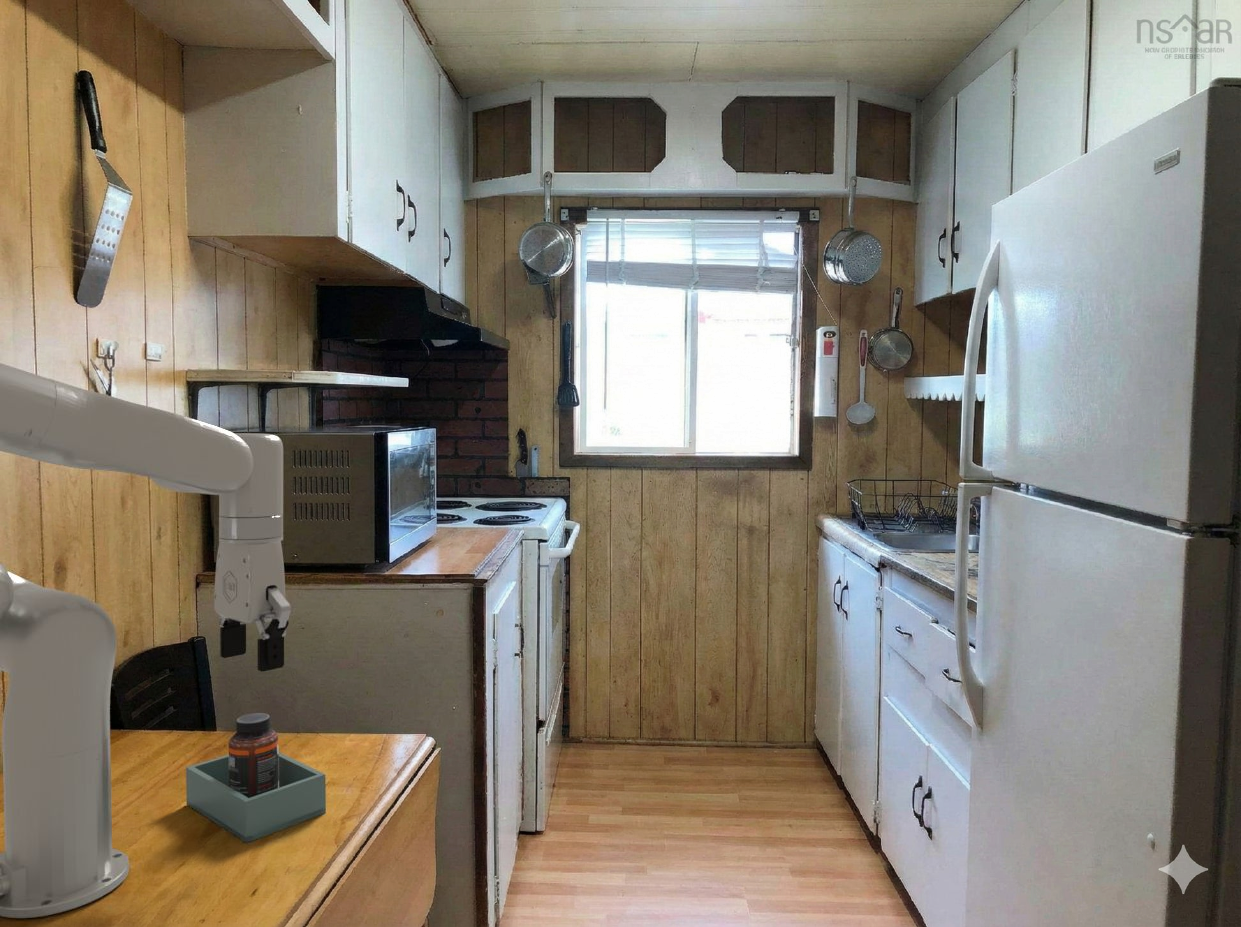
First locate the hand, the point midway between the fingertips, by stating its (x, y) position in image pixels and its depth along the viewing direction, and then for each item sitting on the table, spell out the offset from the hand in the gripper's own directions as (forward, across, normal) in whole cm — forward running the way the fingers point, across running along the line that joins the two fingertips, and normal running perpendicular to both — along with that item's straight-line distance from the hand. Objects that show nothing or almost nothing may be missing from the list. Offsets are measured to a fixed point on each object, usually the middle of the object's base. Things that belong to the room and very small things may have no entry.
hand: (251, 662), depth 107 cm
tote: (+19, 0, +1) cm, 19 cm away
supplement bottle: (+19, 0, 0) cm, 19 cm away
